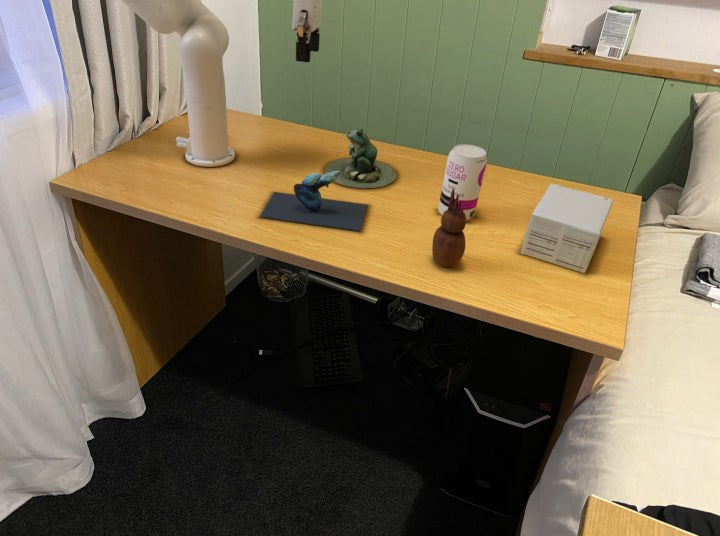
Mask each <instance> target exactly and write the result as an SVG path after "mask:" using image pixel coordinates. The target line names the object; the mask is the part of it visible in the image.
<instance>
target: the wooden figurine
mask: <svg viewBox="0 0 720 536" xmlns="http://www.w3.org/2000/svg"><path fill="white" fill-rule="evenodd" d="M458 200H459V195H457V196H456V199H454V189H452V193H451V197H450V201H449V206H448V210H446V211H445V212H444V213H443V215H441V220H440V226H439V227H437V229H436V230H435V232H434V234H433V237H432V245H431V246H432V257H433V260H434V262H435V263H436V264H437V265H439V266H440V267H443V268H451V267H455V266H457V264H458V263H459V262H460V261H461V260H462V258H463V256H464V254H465V252H466V251H465V250H466V236H465V233H464V229H465V227H466V225H467V220H466V215H465V213H464V212H463V208H461V202H459V204H458Z"/></svg>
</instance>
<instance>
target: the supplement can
mask: <svg viewBox="0 0 720 536" xmlns="http://www.w3.org/2000/svg"><path fill="white" fill-rule="evenodd" d="M488 160H489V159H488V155H487V151H486V150H485V149H483V148H482V147H480V146H477V145H473V144H462V143H461V144H456V145H454V146H453V147H452V149H451V151H450V152H449V153H448V155H447V160H446V166H445V171H444V174H443V175H444V176H443V181H442V186H441V192H440V196H439V202H438V206H437V210H438V212H439V213H440V215H441V216H442V215H443V213H444V212H445V211H446V210H448V206H449V201H450V197H451V193H452V189H454V199H456V196H457V195H459V200H458V204H459V202H461V208H463V212H464V213H465V215H466V221H469V220H470V219H472V218H473V217H474V216H475V214H476V210H477V206H478V201H479V197H480V193H481V190H482V185H483V180H484V176H485V172H486V168H487V164H488Z"/></svg>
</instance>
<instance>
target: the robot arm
mask: <svg viewBox="0 0 720 536" xmlns="http://www.w3.org/2000/svg"><path fill="white" fill-rule="evenodd" d="M121 1H122V2H123V3H124V4H125V5H126V6H127V7H128V8H129V9H130V10H131V11H132V12H134V13H135V14H136V15H137V16H138V17H139V18H140V19H142V20H143V22H145V24H147V25H148V26H149V27H150V28H151V29H152V30H153V31H156V32H157V33H159V34H161V35H171V34H174V33H175V32H176V33H177V35H179V37H181V38H180V40H179V48H178V53H179V61H180V66H181V71H182V76H183V83H184V92H185V93H184V94H185V100H186V112H187V122H188V133H189V136H188V137H184V136H177V137H176V138H175V143H176V144H175V145H176V148H179V149H185V150H186V151H185V152H184V153H185V154H184V155H185V157H184V158H185V160H186V161H187V162H188V163H190V164H192V165H195V166H197V167H204V168H205V167H207V168H210V167H211V168H212V167H213V168H214V167H220V166H224V165H225V166H226V165H227V164H229V163H231V162H233V161H234V160H235V159H236V153H235V150H234V149H233V148H231V147H230V146H229V135H228V133H229V131H228V115H227V112H228V111H227V95H226V94H227V93H226V81H225V72H224V64H223V58H224V55H225V53H226V51H227V50H228V48H229V44H230V36H229V31H228V29H227V27H226V26H225V24H224V22H223V21H222V20H221V19H220V18H219V17H218V16H217V15H216V14H215V13H214V12H213V11H211V10H210V8H208V7H207V6H206V5H205V4H204V3H203V2H202V1H201V0H121ZM292 4H293V5H292V25H291V28H292V30H293V31H295V32H296V31H297V32H296V38H295V61H296V62H300V63H309V62H311V52H316V53H317V52H319V51H320V34H321V33H320V29H321V27H320V25H321V24H322V18H323V0H293V3H292Z"/></svg>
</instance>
